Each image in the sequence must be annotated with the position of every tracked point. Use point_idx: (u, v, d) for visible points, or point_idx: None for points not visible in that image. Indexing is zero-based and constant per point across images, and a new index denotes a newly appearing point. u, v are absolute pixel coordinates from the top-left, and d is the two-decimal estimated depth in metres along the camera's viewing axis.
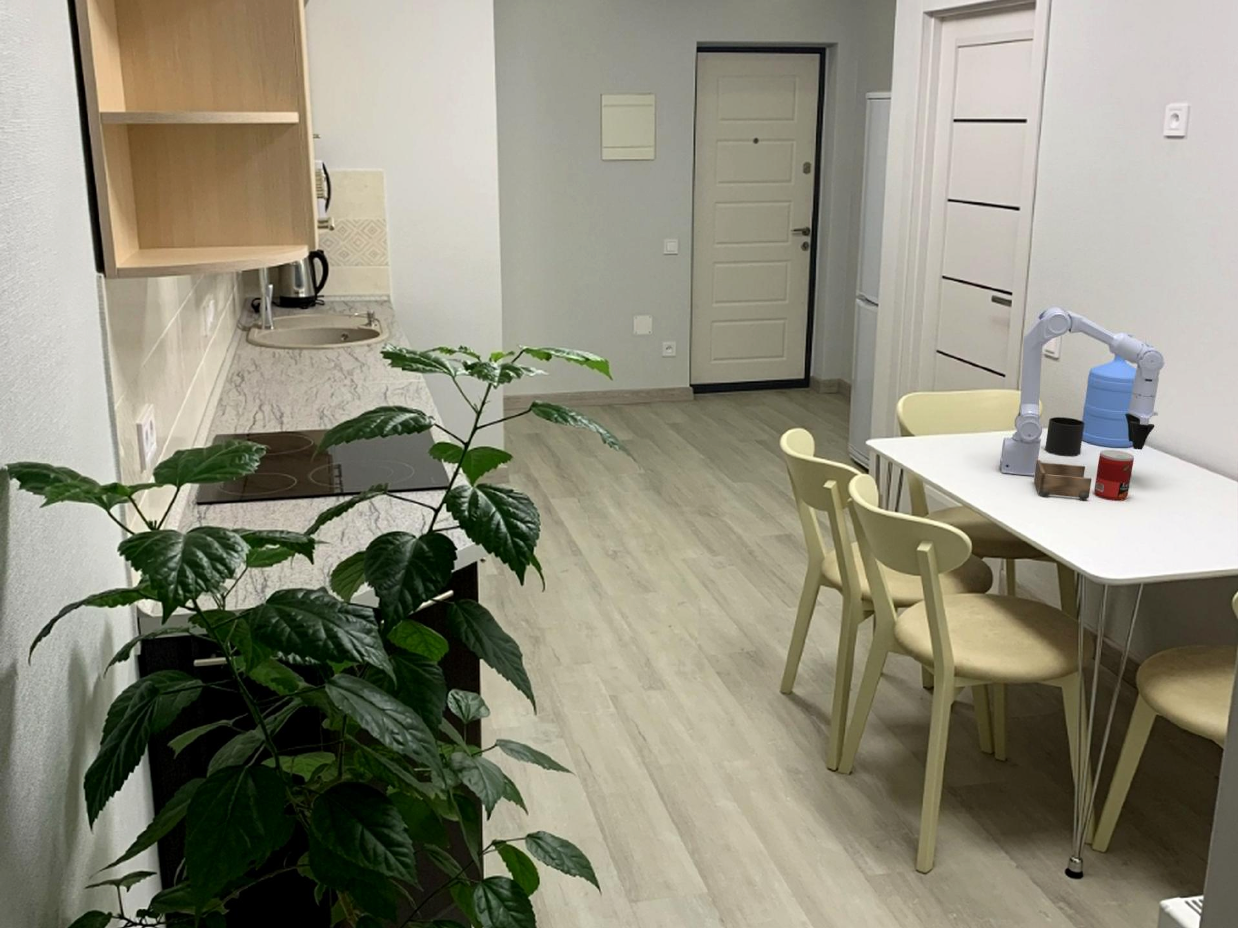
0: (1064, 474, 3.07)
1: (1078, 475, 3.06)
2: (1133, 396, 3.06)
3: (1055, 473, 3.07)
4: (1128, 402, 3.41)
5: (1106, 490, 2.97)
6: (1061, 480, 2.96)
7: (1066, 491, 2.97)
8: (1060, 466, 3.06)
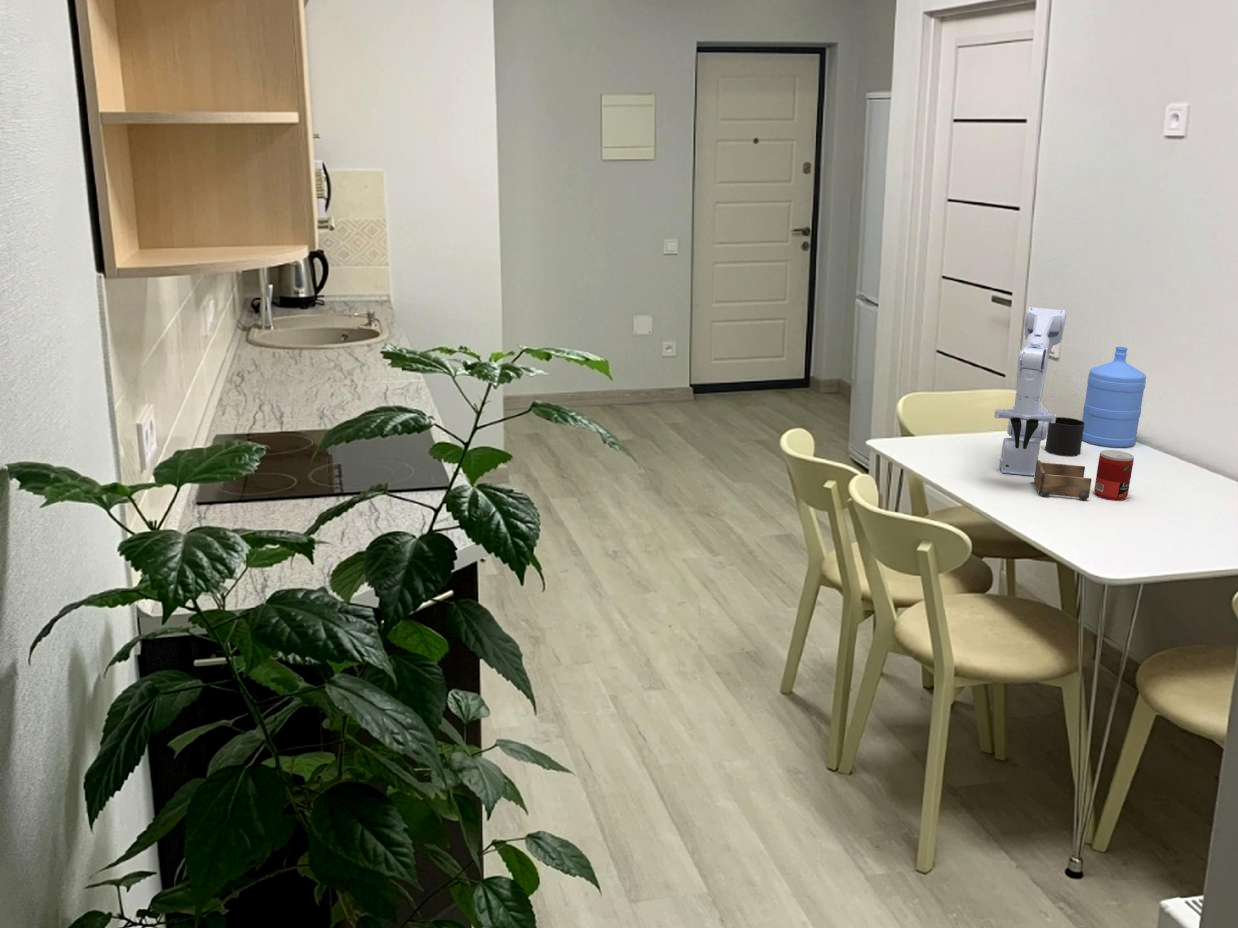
0: (1064, 474, 3.07)
1: (1078, 475, 3.06)
2: None
3: (1055, 473, 3.07)
4: (1128, 402, 3.41)
5: (1106, 490, 2.97)
6: (1061, 480, 2.96)
7: (1066, 491, 2.97)
8: (1060, 466, 3.06)
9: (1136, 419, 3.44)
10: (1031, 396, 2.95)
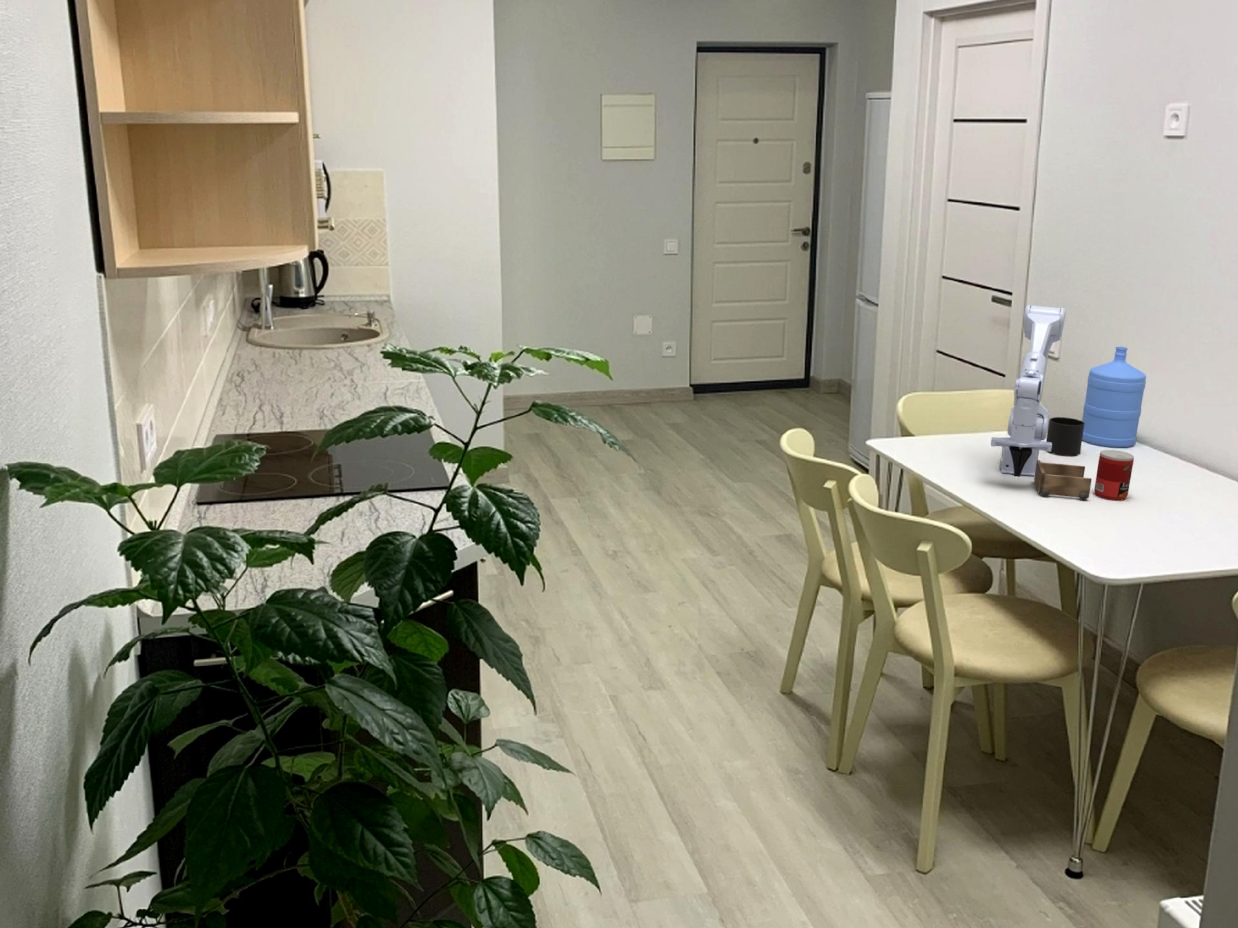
0: (1064, 474, 3.07)
1: (1078, 475, 3.06)
2: None
3: (1055, 473, 3.07)
4: (1128, 402, 3.41)
5: (1106, 490, 2.97)
6: (1061, 480, 2.96)
7: (1066, 491, 2.97)
8: (1060, 466, 3.06)
9: (1136, 419, 3.44)
10: (1027, 425, 2.97)
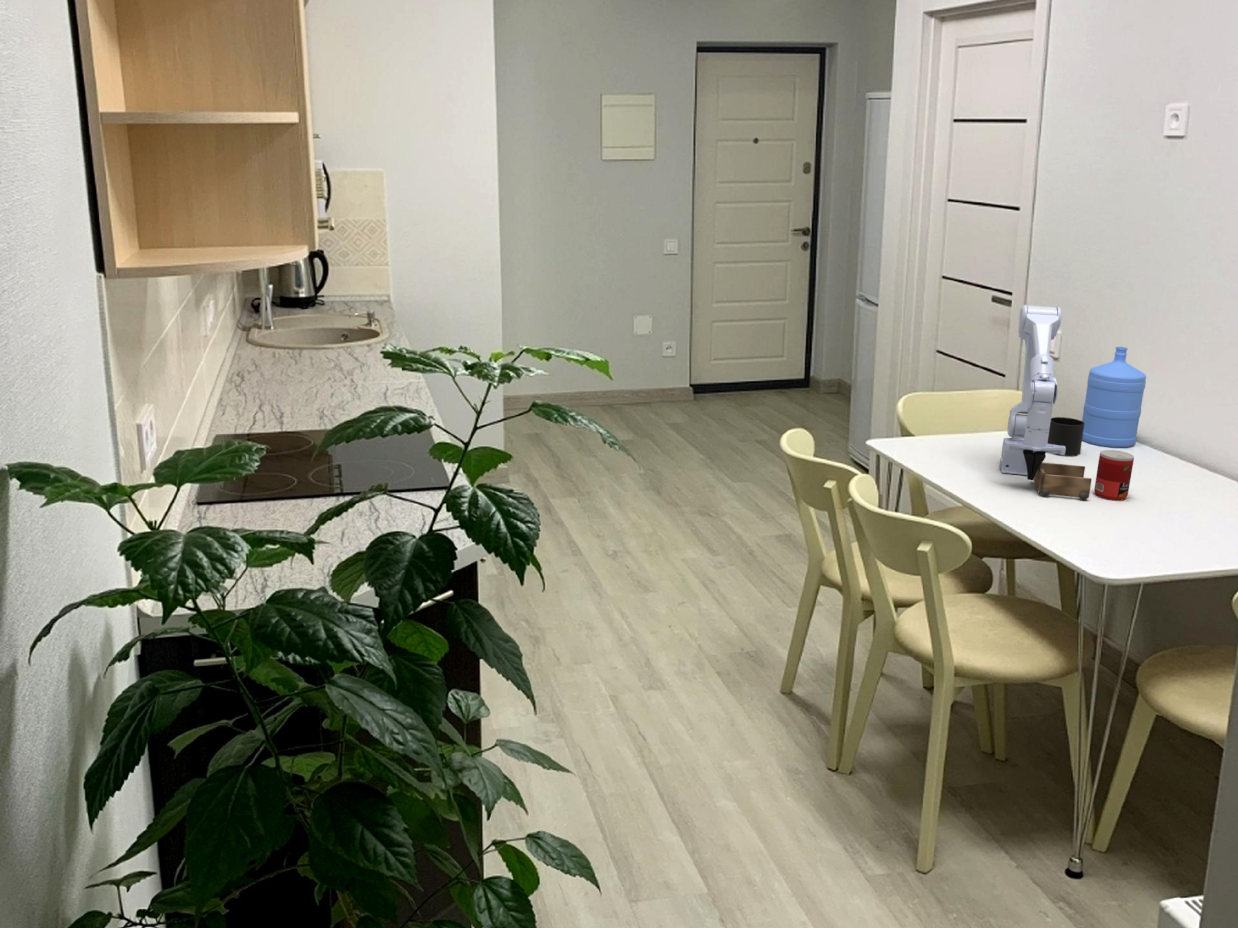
0: (1064, 474, 3.07)
1: (1078, 475, 3.06)
2: None
3: (1055, 473, 3.07)
4: (1128, 402, 3.41)
5: (1106, 490, 2.97)
6: (1061, 480, 2.96)
7: (1066, 491, 2.97)
8: (1060, 466, 3.06)
9: (1136, 419, 3.44)
10: (1043, 428, 2.97)
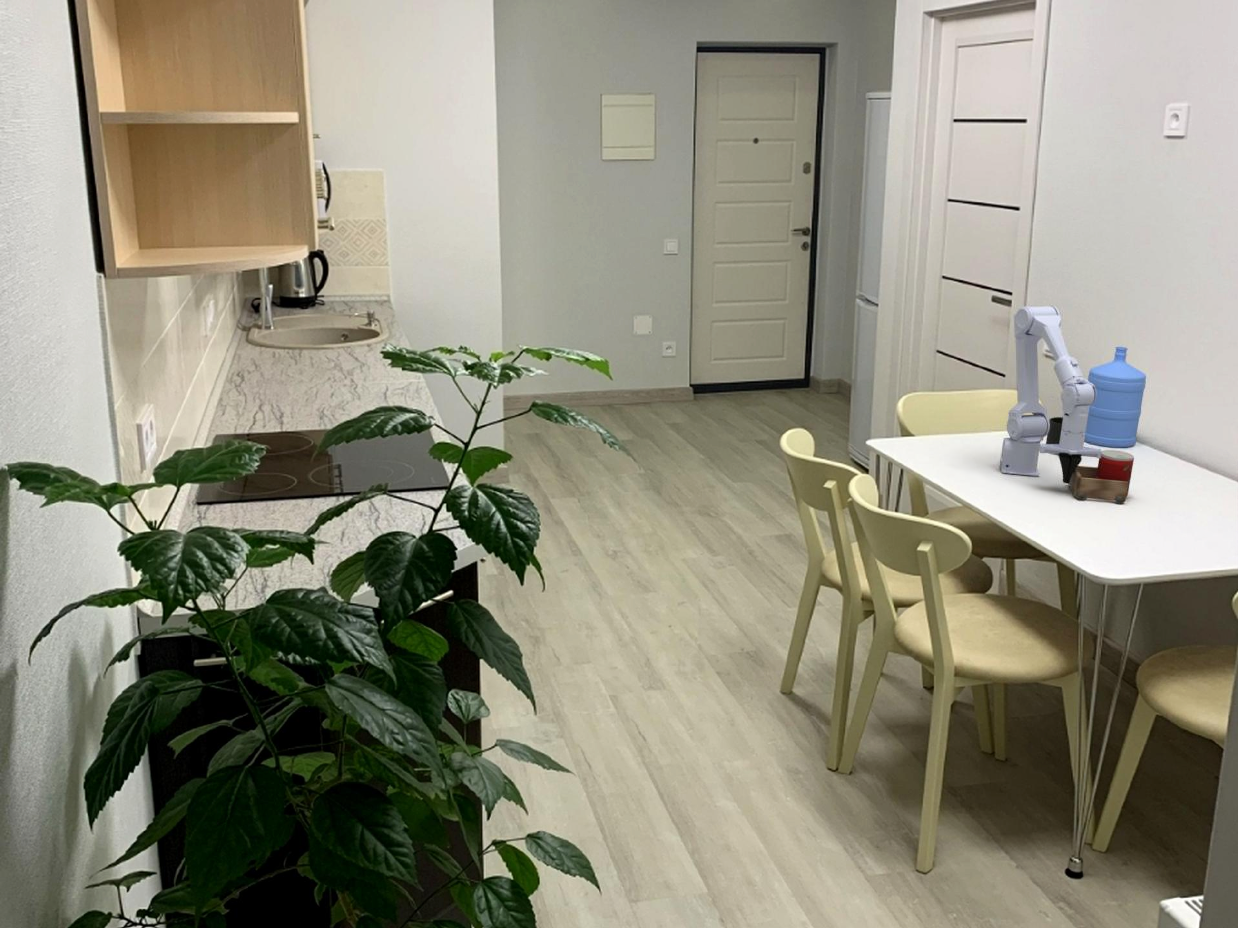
0: None
1: None
2: None
3: (1090, 476, 3.05)
4: (1128, 402, 3.41)
5: None
6: (1097, 483, 2.95)
7: (1102, 495, 2.95)
8: (1095, 469, 3.04)
9: (1136, 419, 3.44)
10: (1084, 431, 2.96)
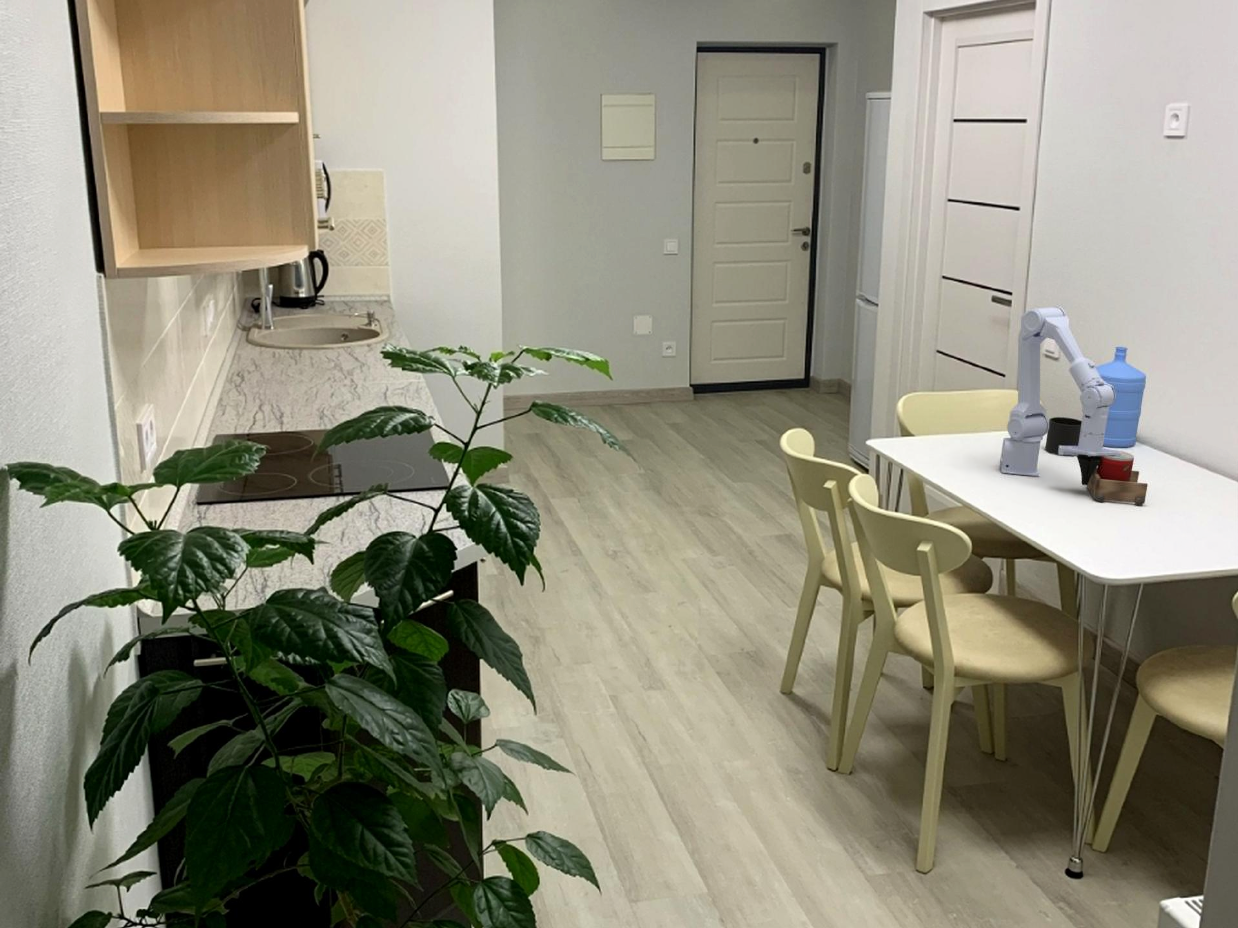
0: None
1: (1132, 480, 3.03)
2: None
3: None
4: (1128, 402, 3.41)
5: None
6: (1116, 485, 2.94)
7: (1122, 496, 2.94)
8: None
9: (1136, 419, 3.44)
10: (1104, 432, 2.95)
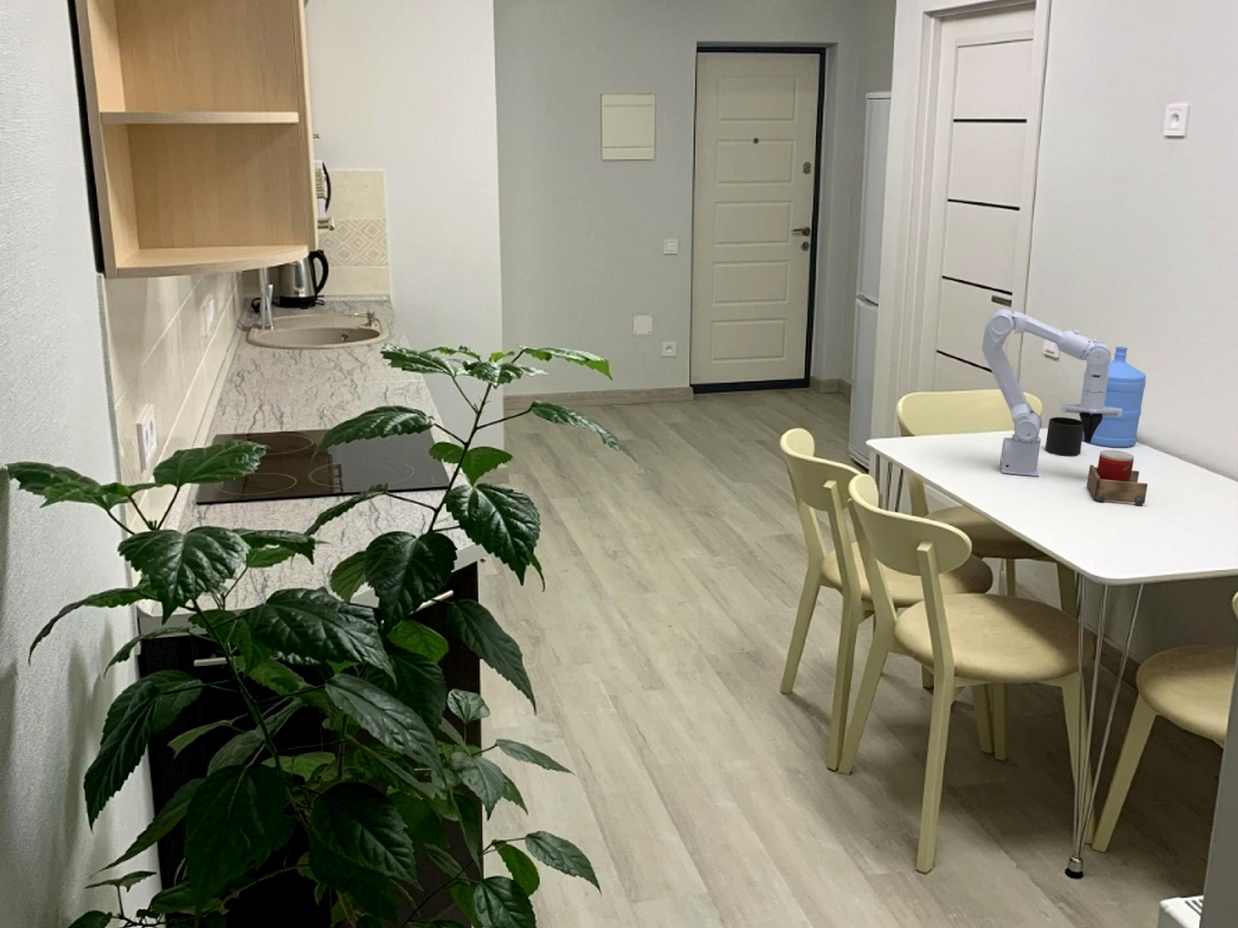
0: None
1: (1132, 480, 3.03)
2: None
3: None
4: (1128, 402, 3.41)
5: None
6: (1116, 485, 2.94)
7: (1122, 496, 2.94)
8: None
9: (1136, 419, 3.44)
10: None
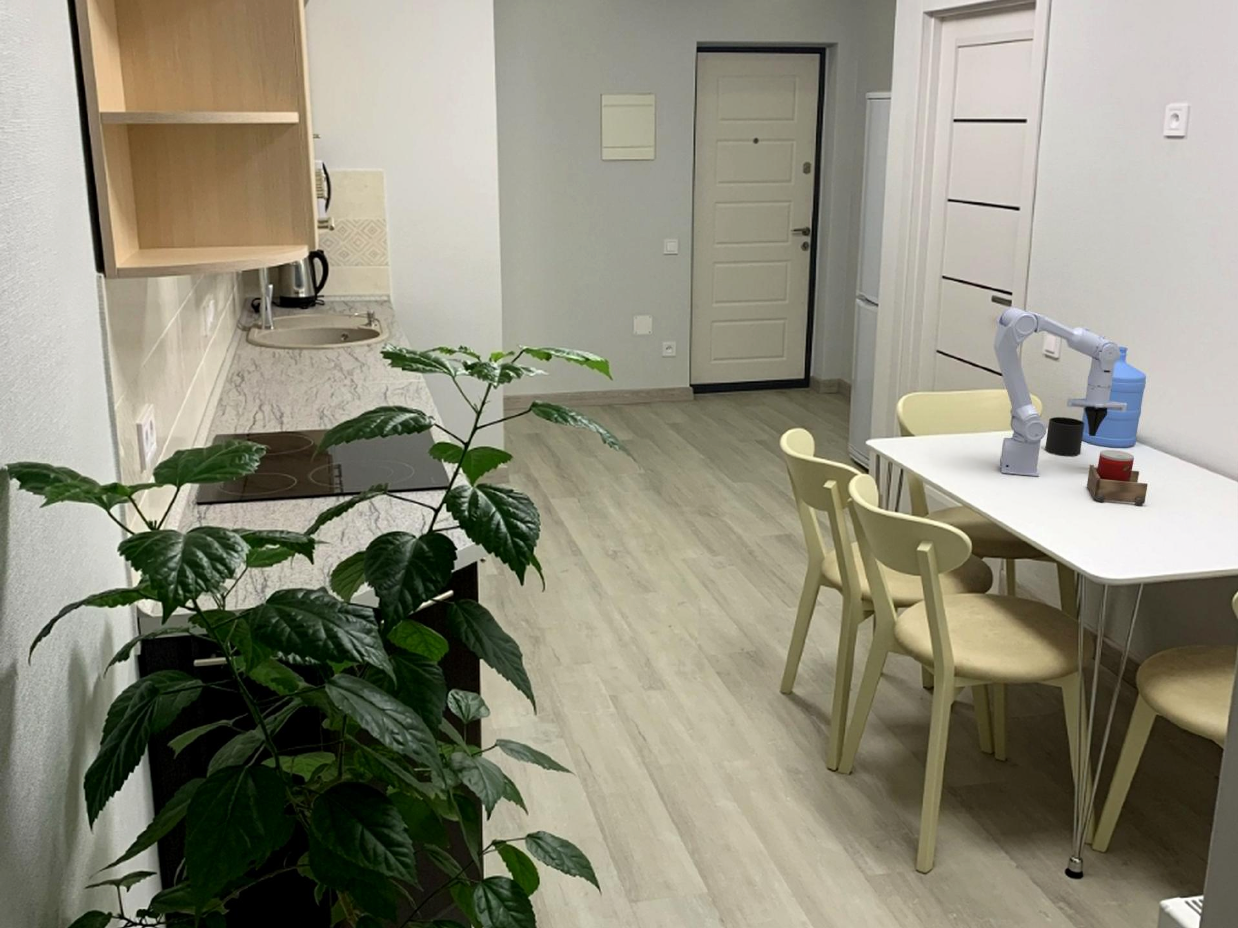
0: None
1: (1132, 480, 3.03)
2: None
3: None
4: (1128, 402, 3.41)
5: None
6: (1116, 485, 2.94)
7: (1122, 496, 2.94)
8: None
9: (1136, 419, 3.44)
10: None
